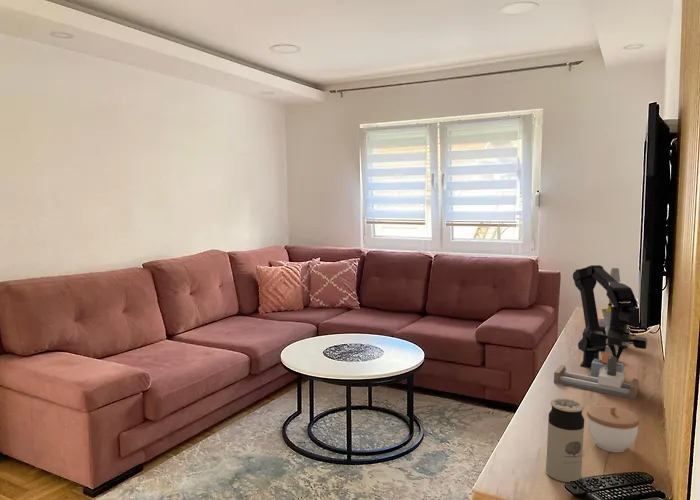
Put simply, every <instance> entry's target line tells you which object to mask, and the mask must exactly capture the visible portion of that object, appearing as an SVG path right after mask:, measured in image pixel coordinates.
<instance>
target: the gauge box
mask: <svg viewBox="0 0 700 500" xmlns="http://www.w3.org/2000/svg"><path fill="white" fill-rule="evenodd" d="M624 368H625V363H622V362H617V371H616V372H620V373H624V370H625V369H624ZM602 369H604V370H607V363H603V362H602V359H600V358H599V359H594V360H593V361H592V364H591V367H590V376H591V377H596V378H598V375H599V374H600V372H601V371H602Z"/></svg>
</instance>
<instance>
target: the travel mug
mask: <svg viewBox="0 0 700 500" xmlns="http://www.w3.org/2000/svg"><path fill="white" fill-rule="evenodd" d="M549 403H550V405H551V409H550V411H549V413H548V419H547V421H548V424H547V441H546V460H545V462H546V463H545V464H546V465H545V472H546V474H547V475H549V477H551V478H553V479H555V480H556V481H558V482H563V483H571V482H570V481H574V480H578V481H580V480H581V478H582V470H583V469H582V467H583V465H582V464H583V449H584V429H585V418H584V416H583V413H582V412H583V411H584V408H585V406H584V405H583V404H582V403H581V402H579V401H577V400H574V399H571V398H564V397H563V398H562V397H557V398H553V399H551V400H550V402H549ZM579 479H580V480H579Z"/></svg>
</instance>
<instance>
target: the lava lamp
mask: <svg viewBox="0 0 700 500" xmlns="http://www.w3.org/2000/svg"><path fill="white" fill-rule="evenodd" d="M609 275H610V276H612V277H613V278H614V279H615V280H616V281H617V282H619V283H621V278H620V269H619V268H618V267H611V269H610V272H609ZM610 302H611V301H610V299H609V298H608V304H609V303H610ZM601 313H602V316H603V320H604V324H605V328H604V329H605V331H606V335H608V331H609V328H610V315H611V306H608V305H607V308H602V309H601Z"/></svg>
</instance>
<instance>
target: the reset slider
mask: <svg viewBox="0 0 700 500" xmlns="http://www.w3.org/2000/svg"><path fill="white" fill-rule="evenodd" d="M609 356H612V354H610V353H603V354H602V355H601V360H602V362H603V363H607V361H608V357H609Z"/></svg>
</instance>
